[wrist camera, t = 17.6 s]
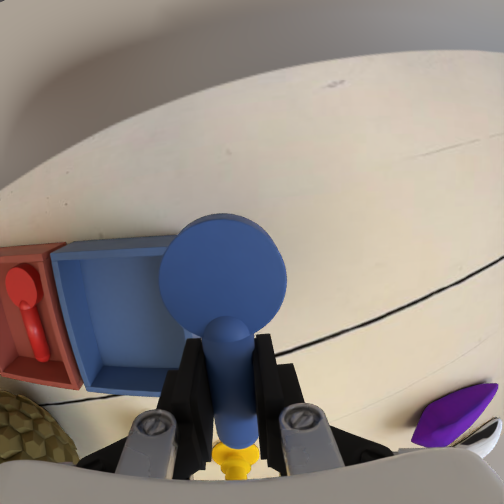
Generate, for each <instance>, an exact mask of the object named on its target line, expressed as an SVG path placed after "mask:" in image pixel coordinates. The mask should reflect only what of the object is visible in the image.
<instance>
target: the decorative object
mask: <svg viewBox="0 0 504 504" xmlns="http://www.w3.org/2000/svg"><path fill="white" fill-rule="evenodd" d="M75 450H77V448H76V446H75V444H74V442H73V440H72V439H71V438H70V437H69V436H68V435H67V434H66V433H65V432H64V431H63V430H62V428H61V427H60V426H59V424H58V423H57V422H56V421H55V420H54V418H53V417H52V416H51V415H50V413H49V412H48V411H46V410H45V409H43V408H42V407H40V406H38V405H37V404H36V403H34V402H33V401H32V400H31V399H29V398H27V397H26V396H23V395H20V394H19V395H17V396H16V395H14V394H12V393H10V392H8V391H4V390H0V464H2V463H4V462H8V461H14V460H36V461H45V462H52V463H59V462H73V464H77V463H78V462H79V461H80V459H79V457H78V454H77V453H76V451H75Z"/></svg>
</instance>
